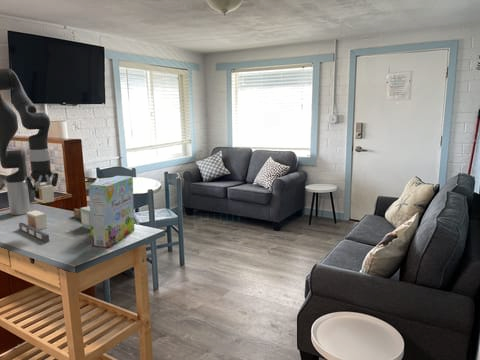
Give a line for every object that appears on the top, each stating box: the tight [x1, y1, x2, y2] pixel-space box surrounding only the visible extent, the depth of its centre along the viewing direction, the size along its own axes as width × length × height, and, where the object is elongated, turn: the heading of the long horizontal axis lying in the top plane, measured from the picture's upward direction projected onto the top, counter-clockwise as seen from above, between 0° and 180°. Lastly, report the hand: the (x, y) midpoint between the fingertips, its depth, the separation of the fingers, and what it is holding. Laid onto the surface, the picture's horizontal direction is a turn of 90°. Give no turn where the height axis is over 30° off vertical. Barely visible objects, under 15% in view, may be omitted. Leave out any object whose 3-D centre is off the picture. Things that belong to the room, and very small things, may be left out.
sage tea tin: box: [79, 205, 91, 231], centre depth 170 cm, size 8×5×9 cm, turn 53°
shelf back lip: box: [73, 208, 81, 219], centre depth 179 cm, size 26×1×4 cm, turn 53°
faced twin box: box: [26, 210, 48, 231], centre depth 169 cm, size 5×9×7 cm, turn 53°
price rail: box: [18, 222, 50, 243], centre depth 158 cm, size 26×2×3 cm, turn 53°
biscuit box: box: [32, 182, 55, 204], centre depth 160 cm, size 5×9×7 cm, turn 53°
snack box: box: [88, 175, 135, 248], centre depth 153 cm, size 22×9×26 cm, turn 168°
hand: (43, 197), depth 160 cm, fingers closed on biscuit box, 4 cm apart
